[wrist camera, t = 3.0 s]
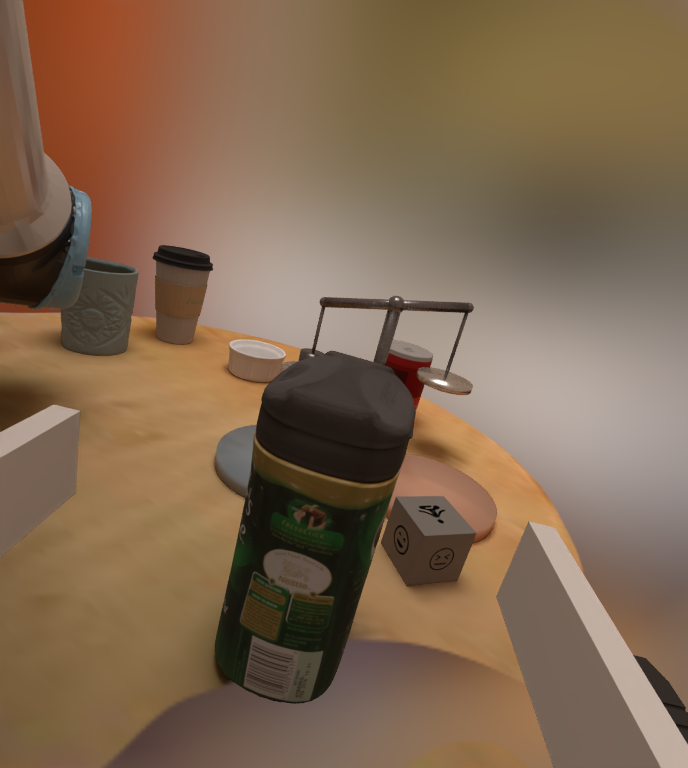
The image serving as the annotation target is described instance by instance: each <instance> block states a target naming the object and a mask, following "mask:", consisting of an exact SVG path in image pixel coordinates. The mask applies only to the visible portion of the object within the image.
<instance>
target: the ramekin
mask: <svg viewBox="0 0 688 768" xmlns="http://www.w3.org/2000/svg"><path fill="white" fill-rule="evenodd" d="M229 349H230V354H229V365H228V367H229V371H230V372H231V373H232V374H233V375H235V376H237V377H239V378H241V379H245V380H248V381H253V382H271V381H272V380H273V379H274V378H275V377H276V376H277V375H279V373H280V370H281V366H282V363H283V360H284V359H285V356H286V353H285V352H284V351H283V350H282V349H280V348H278V347H276V346H274V345H271V344H268V343H265V342H261V341H255V340H234V341H231V342H230V343H229Z"/></svg>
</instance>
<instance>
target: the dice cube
mask: <svg viewBox="0 0 688 768" xmlns="http://www.w3.org/2000/svg"><path fill="white" fill-rule="evenodd" d="M476 534H477V533H476V532H475V531H474V530H473V529H472V527H471V526H470V525H469V524H468V523H467V522H466V521H465V519H464V518H463V517H462V516H461V515H460V514H459V513H458V512H457V510H456V509H455V508H454V507H453V506H452V505H451V504H450V502H449V501H448V500H447V499H446V498H445V497H444V496H399V497H396V498H395V501H394V504H393V507H392V510H391V513H390V516H389V519H388V522H387V525H386V528H385V532H384V535H383V538H382V541H381V544H382V546H383V547H384V549H385V551H386V552H387V554H388V556H389V557H390V559H391V561H392V562H393V564H394V566H395V567H396V569H397V571H398V572H399V574H400V576H401V577H402V579H403V581H404V582H405V584H406V586H410V585H420V584H430V583H439V582H449V581H457V580H458V578H459V575H460V573H461V570H462V568H463V565H464V563H465V561H466V558H467V556H468V553H469V551H470V548H471V546H472V543H473V541H474V538H475V536H476Z"/></svg>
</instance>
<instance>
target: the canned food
mask: <svg viewBox="0 0 688 768" xmlns="http://www.w3.org/2000/svg"><path fill="white" fill-rule="evenodd" d="M432 358H433V354H432V353H431V352H429V351H428V350H426V349H424V348H422V347H420V346H417V345H414V344H411V343H407V342H403V341H397V340H393V341H392V344H391V348H390V351H389V355H388V358H387V362H386V365H385V366H388V367H390V368H392V370H393V371H394V374H395V375H396V376H397V377H398V378H399V379H400V380H401V382H402V383H403V384H404V385H405V386H406V387H407V389H408V390H409V392H410V393H411V395H412V397H413V401H414V411H415V412H416V409H417V406H418V403H419V400H420V397H421V394H422V391H423V388H424V385H425V384H424V383H422V382H421V381H419V380H418V379H417V377H416V374H417V371H418V369H419V368H422V367H429V368H430V366H431V362H432Z"/></svg>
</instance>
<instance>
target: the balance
mask: <svg viewBox="0 0 688 768" xmlns="http://www.w3.org/2000/svg"><path fill="white" fill-rule="evenodd" d="M320 305H321V306H322V309H321V313H320V317H319V322H318V326H317V331H316V335H315V339H314V344H313V348H312V349H301V352H300V356H299V361H301V360H304V359H308V358H311V357H315V356H319V355H324V353H322V352H320V351H317V350H315V349H316V344H317V340H318V336H319V332H320V327H321V323H322V318H323V314H324V310H325V307H335V308H336V307H337V308H361V309H387V310H388V311H387V315H386V318H385V322H384V325H383V329H382V333H381V336H380V340H379V344H378V347H377V351H376V355H375V358H374V362H375V363H378V364H381V365H386V362H387V358H388V355H389V351H390V348H391V344H392V341H393V337H394V334H395V330H396V327H397V323H398V320H399V316H400V313H401V312H402V311H403V310H410V311H411V310H412V311H436V312H460V313H461V312H462V313H465V315H464V318H463V321H462V323H461V326H460V329H459V333H458V336H457V339H456V341H455V344H454V347H453V350H452V353H451V356H450V359H449V362H448V366H447V369H446V371H444V370H440V369H436V368H429V367H422V368H419V369H418V371H417V374H416V377H417V379H418V380H419V381H421V382H422V383H424V384H425V385H428V386H430V387H432V388H434V389H437V390H439V391H443V392H446V393H451V394H456V395H468V394H470V393H471V390H472V387H473V385H472V384H471V383H470V382H469V381H468V380H466V379H464V378H463V377H460V376H458V375H456V374H453V373H451V372H449V370H450V367H451V364H452V361H453V358H454V355H455V352H456V348H457V346H458V343H459V340H460V337H461V334H462V330H463V327H464V325H465V322H466V319H467V316H468V313H470V312H472V311H473V309H474V307H473V305H472V304H471V303H460V302H459V303H458V302H433V301H407V300H403V299H402V298H401V297H399V296H393V297H391V298H390V299H389V300H383V299H357V298H355V299H354V298H330V297H323V298H321V300H320ZM296 362H297V361H292V362H286V363H283V364H282V366H281V370H280V373H281V372H282V371H284V370H285V369H286V368H288V367H290V366H291V365H292V364H294V363H296Z"/></svg>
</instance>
